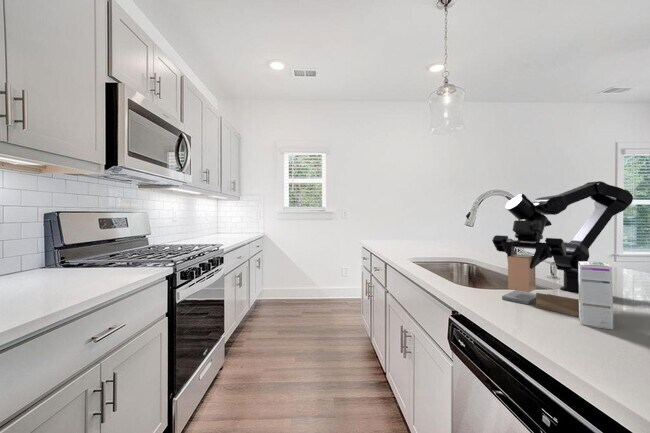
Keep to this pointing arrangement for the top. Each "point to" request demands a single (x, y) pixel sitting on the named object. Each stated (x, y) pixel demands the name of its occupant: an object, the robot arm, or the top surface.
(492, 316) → the top surface
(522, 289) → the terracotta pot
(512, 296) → the slate tile
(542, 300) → the frame
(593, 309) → the syrup box
